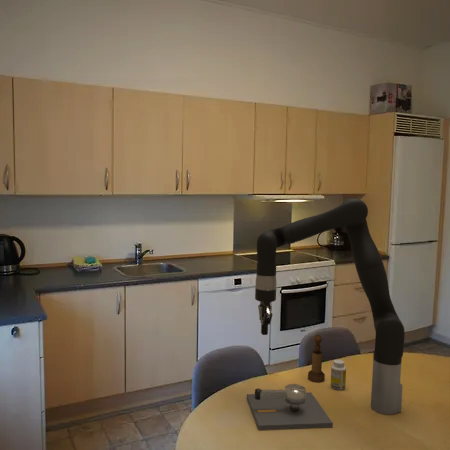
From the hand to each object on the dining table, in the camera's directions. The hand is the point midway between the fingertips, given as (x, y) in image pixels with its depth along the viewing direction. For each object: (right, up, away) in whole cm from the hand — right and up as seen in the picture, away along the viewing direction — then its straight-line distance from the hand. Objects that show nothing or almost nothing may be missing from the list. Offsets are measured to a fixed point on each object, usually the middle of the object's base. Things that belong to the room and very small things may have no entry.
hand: (264, 334), depth 164 cm
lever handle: (+4, -22, -12) cm, 26 cm away
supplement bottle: (+29, -23, +11) cm, 39 cm away
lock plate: (+7, -24, -10) cm, 27 cm away
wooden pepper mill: (+22, -23, +18) cm, 36 cm away
